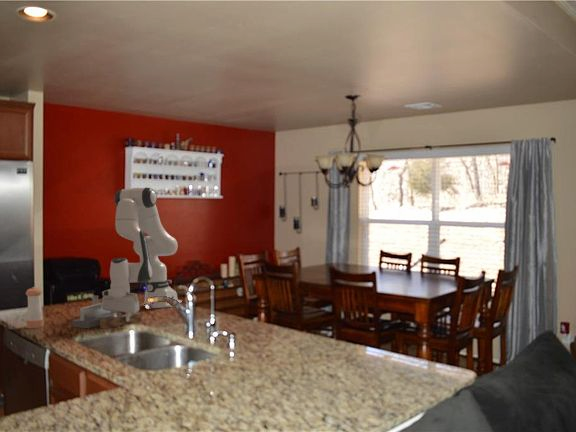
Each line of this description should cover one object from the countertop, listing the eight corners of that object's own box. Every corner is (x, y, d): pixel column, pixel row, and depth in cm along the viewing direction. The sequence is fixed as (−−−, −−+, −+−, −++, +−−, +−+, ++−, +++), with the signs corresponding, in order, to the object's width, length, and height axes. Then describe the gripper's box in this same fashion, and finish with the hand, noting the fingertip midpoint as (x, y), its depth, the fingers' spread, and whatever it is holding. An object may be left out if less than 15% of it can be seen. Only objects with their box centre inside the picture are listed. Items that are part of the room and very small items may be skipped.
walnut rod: (137, 320, 275) (136, 312, 274) (141, 321, 272) (141, 313, 272) (100, 328, 259) (100, 319, 259) (104, 329, 257) (104, 320, 257)
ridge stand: (106, 317, 281) (105, 299, 281) (121, 318, 277) (121, 300, 277) (72, 327, 262) (72, 308, 261) (88, 328, 257) (88, 309, 257)
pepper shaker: (46, 324, 267) (44, 285, 266) (38, 328, 260) (36, 288, 259) (32, 324, 268) (30, 285, 267) (23, 328, 261) (21, 288, 260)
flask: (93, 317, 282) (93, 297, 282) (85, 315, 286) (84, 296, 286) (106, 314, 288) (105, 295, 287) (97, 313, 292) (97, 294, 292)
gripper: (141, 292, 263) (142, 320, 264) (108, 289, 272) (109, 317, 273) (132, 294, 258) (133, 323, 258) (99, 291, 267) (100, 320, 267)
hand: (121, 320), depth 266 cm, fingers open, 5 cm apart
